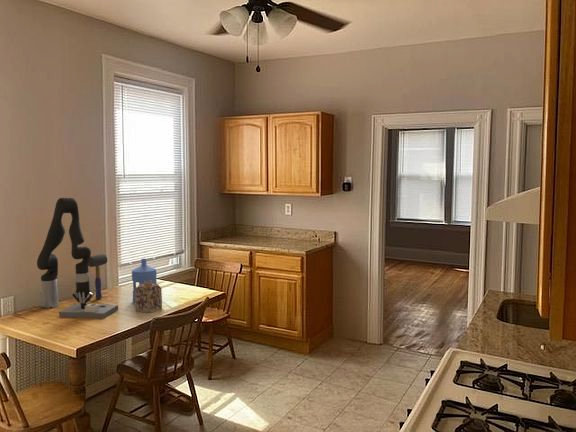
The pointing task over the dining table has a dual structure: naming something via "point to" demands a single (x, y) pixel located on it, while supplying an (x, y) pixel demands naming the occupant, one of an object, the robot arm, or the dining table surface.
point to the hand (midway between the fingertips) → (83, 309)
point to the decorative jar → (148, 297)
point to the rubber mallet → (97, 271)
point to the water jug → (143, 275)
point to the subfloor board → (80, 313)
